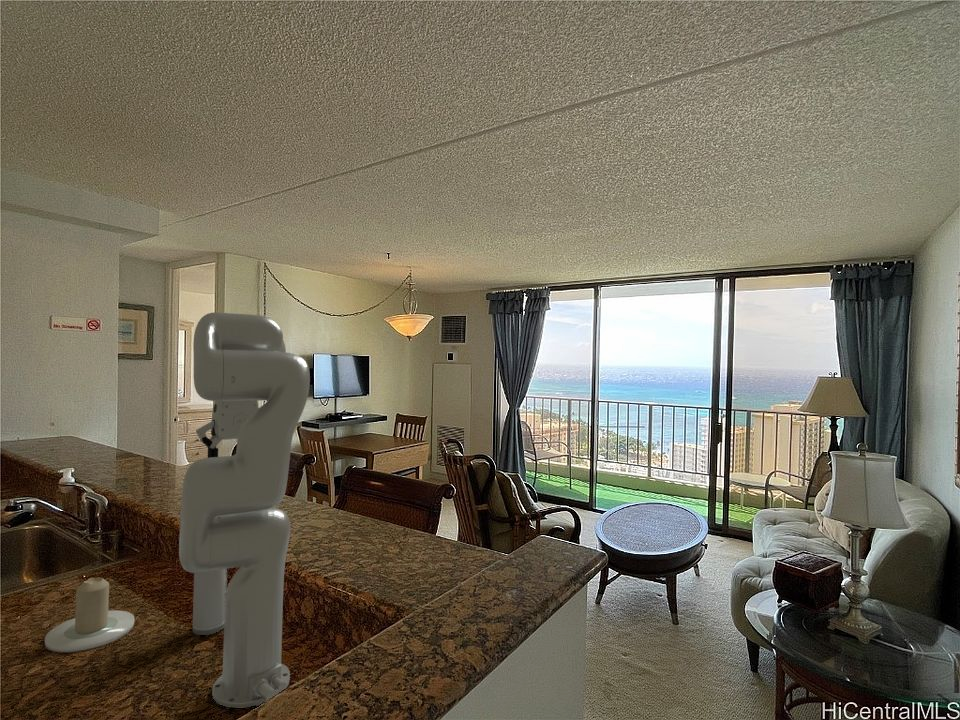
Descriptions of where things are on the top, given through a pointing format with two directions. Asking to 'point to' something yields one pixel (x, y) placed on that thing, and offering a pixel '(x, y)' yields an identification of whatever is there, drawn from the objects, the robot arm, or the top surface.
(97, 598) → the candle
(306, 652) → the top surface
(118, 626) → the ceramic plate
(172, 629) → the top surface
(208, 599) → the travel mug
